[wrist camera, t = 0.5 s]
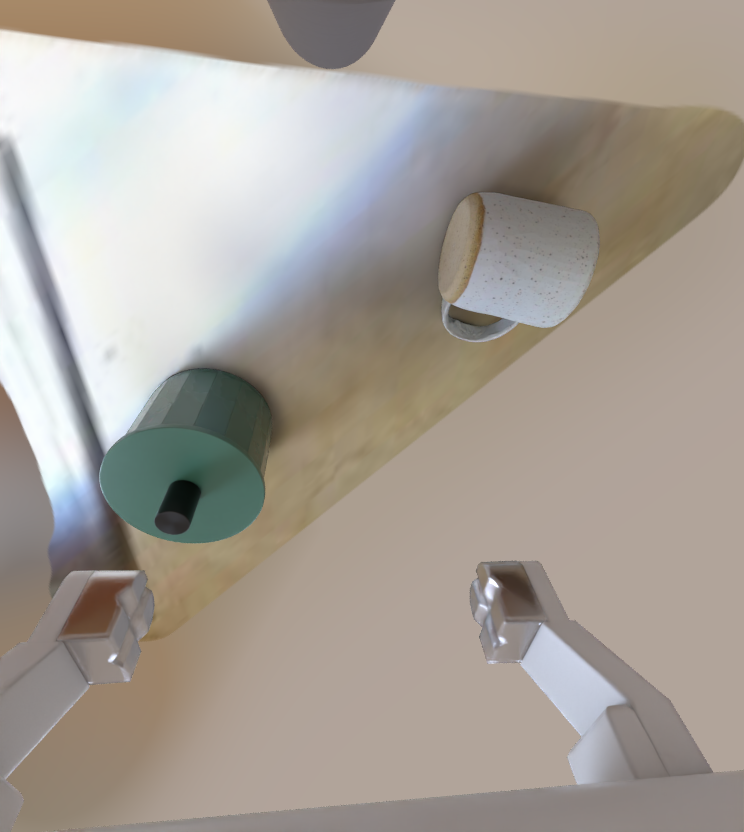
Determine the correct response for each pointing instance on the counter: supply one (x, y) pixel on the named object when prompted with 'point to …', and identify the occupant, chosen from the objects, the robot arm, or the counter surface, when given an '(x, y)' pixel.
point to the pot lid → (182, 483)
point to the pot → (213, 409)
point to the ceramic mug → (515, 263)
